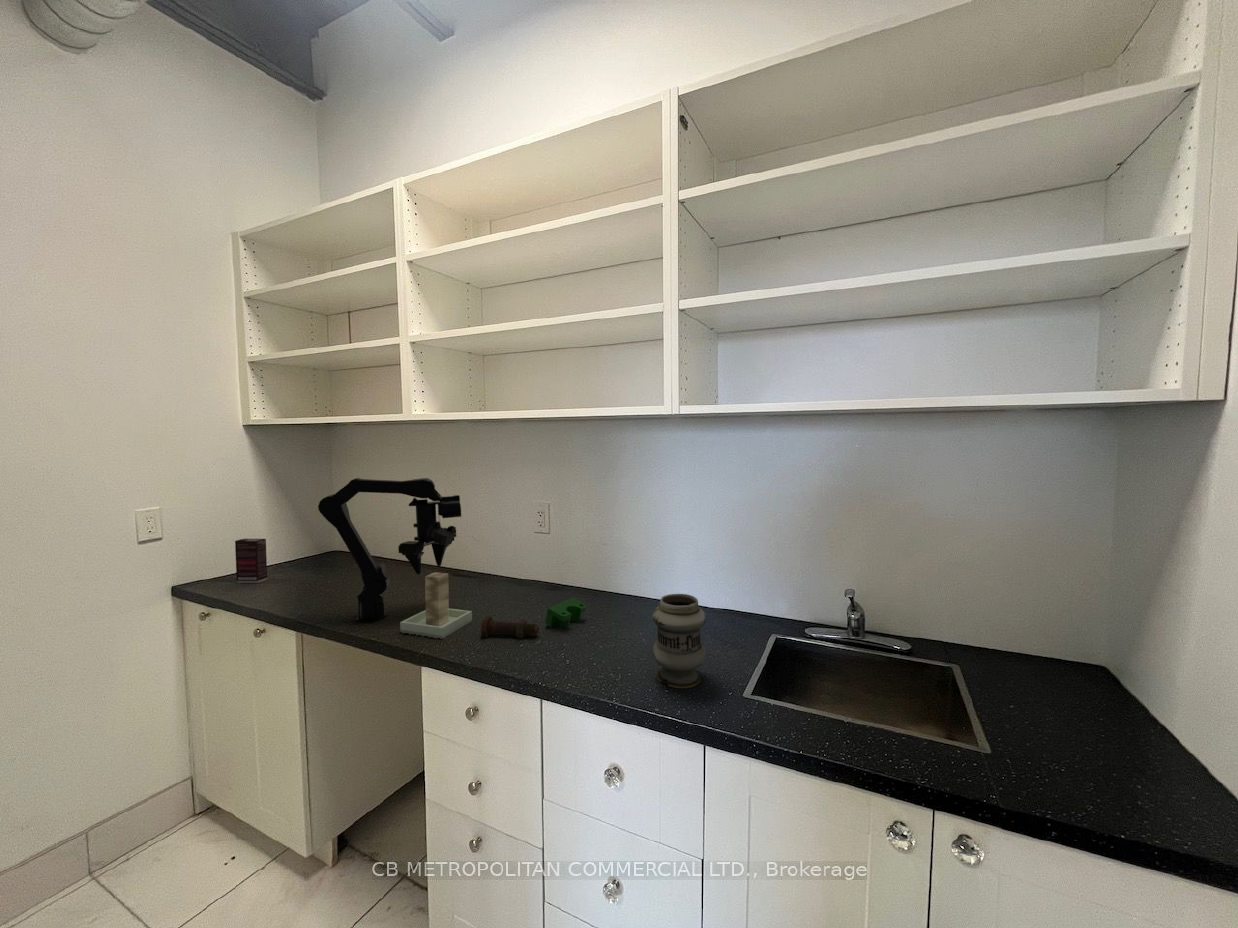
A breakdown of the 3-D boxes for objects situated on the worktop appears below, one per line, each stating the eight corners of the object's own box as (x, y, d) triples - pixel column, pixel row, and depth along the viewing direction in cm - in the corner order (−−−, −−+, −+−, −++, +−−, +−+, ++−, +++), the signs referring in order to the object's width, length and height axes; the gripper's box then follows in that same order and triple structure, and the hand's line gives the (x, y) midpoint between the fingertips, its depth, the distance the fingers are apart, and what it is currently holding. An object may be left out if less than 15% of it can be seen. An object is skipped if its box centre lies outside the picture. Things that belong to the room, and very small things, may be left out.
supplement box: (268, 579, 185) (266, 538, 185) (258, 583, 180) (256, 540, 180) (246, 579, 186) (244, 538, 185) (235, 583, 181) (234, 540, 180)
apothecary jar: (641, 678, 109) (641, 599, 109) (671, 660, 118) (672, 587, 118) (686, 697, 101) (687, 612, 101) (715, 676, 111) (717, 597, 110)
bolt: (536, 645, 132) (482, 640, 133) (541, 629, 136) (488, 625, 137) (534, 630, 129) (479, 626, 130) (538, 615, 133) (485, 611, 134)
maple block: (425, 625, 138) (425, 576, 137) (435, 619, 142) (435, 572, 141) (439, 627, 136) (438, 577, 136) (448, 621, 141) (448, 573, 140)
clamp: (562, 643, 139) (559, 621, 134) (546, 634, 142) (543, 611, 137) (588, 617, 147) (587, 594, 143) (573, 608, 150) (571, 586, 146)
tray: (400, 632, 135) (400, 622, 135) (432, 616, 148) (432, 606, 148) (442, 639, 131) (442, 627, 130) (471, 621, 144) (471, 611, 143)
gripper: (427, 525, 138) (430, 580, 139) (467, 515, 156) (469, 563, 156) (395, 524, 141) (398, 577, 142) (438, 514, 159) (440, 561, 160)
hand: (429, 569), depth 150 cm, fingers open, 9 cm apart
